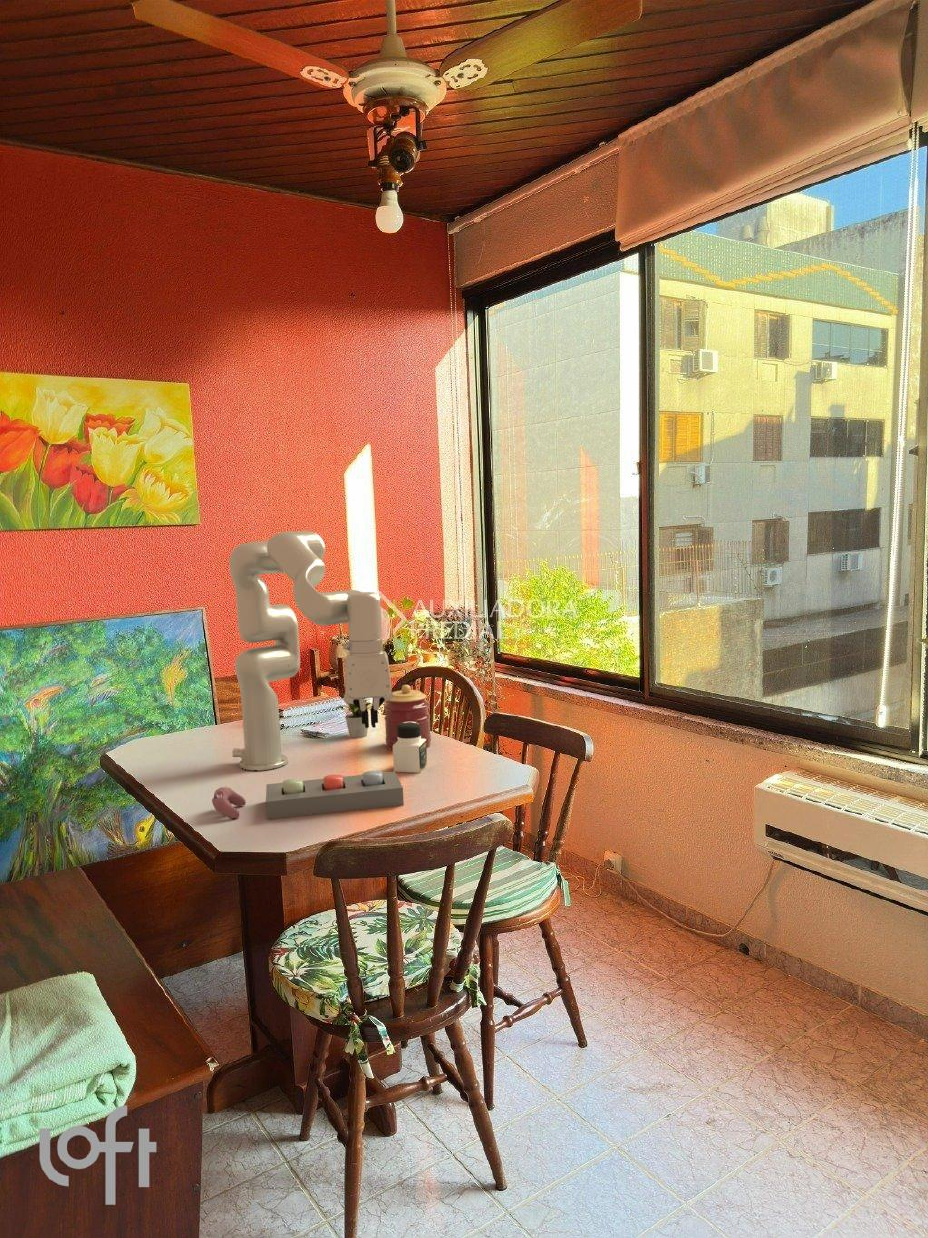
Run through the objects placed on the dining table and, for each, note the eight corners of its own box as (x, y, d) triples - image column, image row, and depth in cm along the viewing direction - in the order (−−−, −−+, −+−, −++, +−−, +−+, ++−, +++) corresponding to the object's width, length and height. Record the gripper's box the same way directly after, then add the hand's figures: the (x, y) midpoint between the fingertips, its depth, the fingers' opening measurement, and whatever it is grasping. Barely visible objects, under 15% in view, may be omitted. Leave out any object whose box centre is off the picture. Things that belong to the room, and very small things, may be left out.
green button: (283, 799, 189) (283, 785, 189) (283, 793, 193) (282, 779, 193) (303, 797, 190) (303, 783, 190) (303, 791, 194) (302, 777, 194)
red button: (324, 795, 191) (323, 781, 191) (323, 789, 195) (322, 775, 195) (344, 793, 192) (343, 779, 192) (342, 787, 196) (342, 773, 196)
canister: (418, 737, 251) (415, 678, 249) (439, 746, 240) (437, 685, 238) (378, 744, 244) (375, 684, 242) (398, 754, 233) (395, 691, 231)
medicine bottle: (420, 773, 215) (418, 726, 213) (393, 772, 216) (391, 726, 215) (427, 765, 222) (425, 720, 220) (401, 764, 223) (399, 719, 222)
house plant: (321, 736, 256) (318, 683, 255) (359, 727, 266) (356, 676, 264) (349, 744, 246) (346, 688, 244) (387, 734, 255) (384, 681, 253)
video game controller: (230, 812, 195) (214, 787, 194) (248, 802, 195) (232, 777, 194) (222, 827, 185) (205, 801, 184) (240, 817, 185) (224, 790, 184)
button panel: (267, 819, 185) (265, 801, 184) (267, 801, 197) (266, 784, 197) (403, 804, 191) (402, 787, 190) (395, 787, 203) (395, 771, 203)
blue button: (364, 790, 193) (363, 777, 193) (362, 785, 197) (362, 771, 197) (383, 788, 194) (383, 775, 194) (381, 783, 198) (380, 769, 198)
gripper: (332, 651, 187) (337, 733, 189) (401, 647, 190) (405, 727, 192) (330, 647, 194) (335, 725, 196) (397, 642, 197) (401, 720, 199)
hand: (370, 726), depth 194 cm, fingers closed
